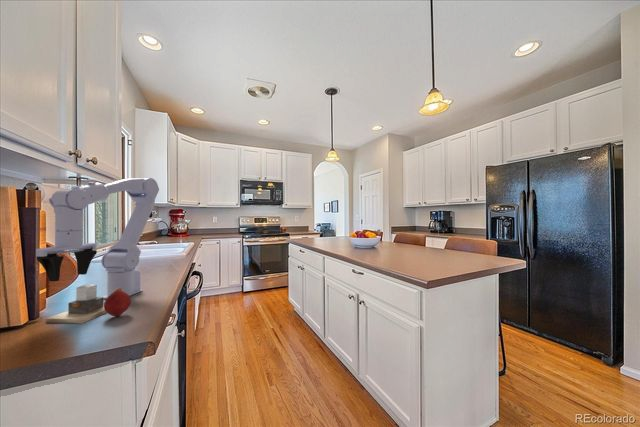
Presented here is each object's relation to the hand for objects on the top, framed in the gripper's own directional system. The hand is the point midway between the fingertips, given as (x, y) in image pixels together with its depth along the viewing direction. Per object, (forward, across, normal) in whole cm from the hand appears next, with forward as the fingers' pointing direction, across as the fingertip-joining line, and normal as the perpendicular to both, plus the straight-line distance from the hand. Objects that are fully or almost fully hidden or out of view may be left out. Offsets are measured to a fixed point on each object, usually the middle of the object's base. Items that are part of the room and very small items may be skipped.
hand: (68, 277), depth 72 cm
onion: (+11, +1, +16) cm, 19 cm away
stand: (+10, 0, +6) cm, 12 cm away
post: (+9, 0, +6) cm, 11 cm away
